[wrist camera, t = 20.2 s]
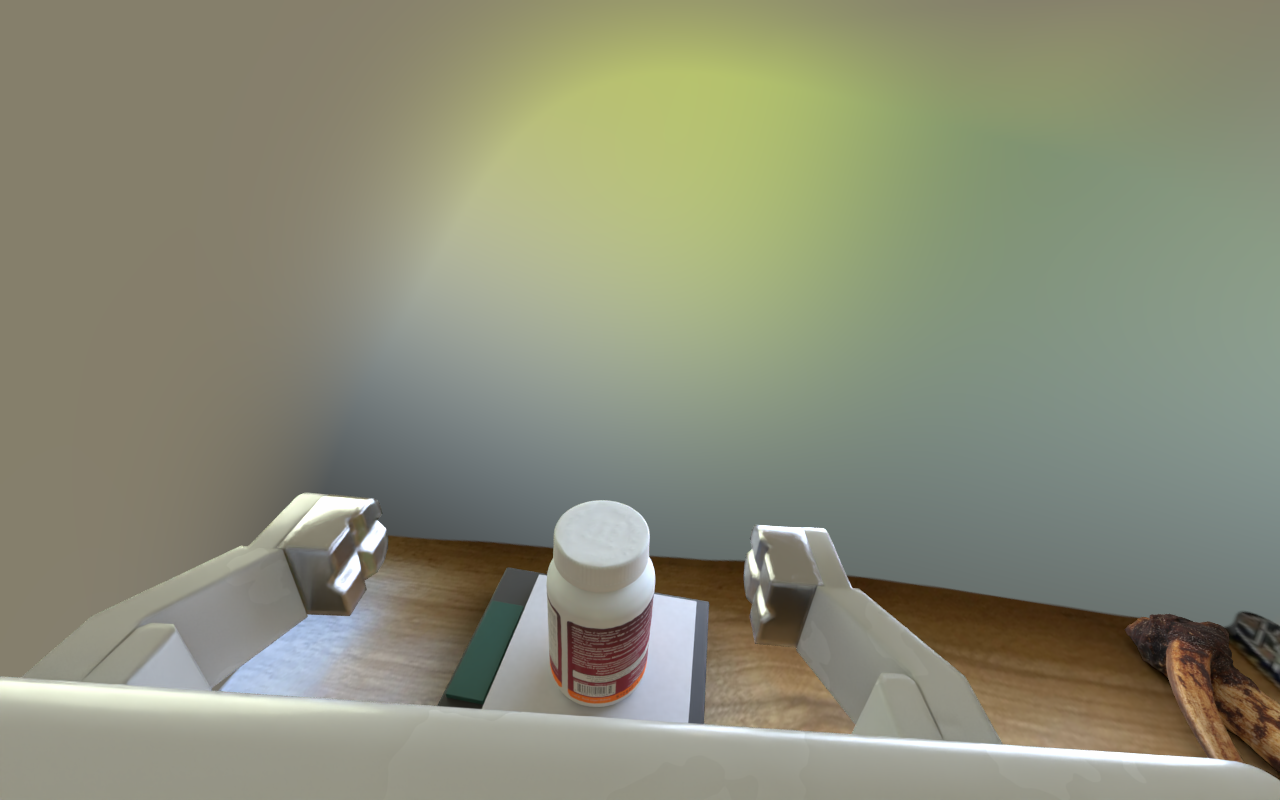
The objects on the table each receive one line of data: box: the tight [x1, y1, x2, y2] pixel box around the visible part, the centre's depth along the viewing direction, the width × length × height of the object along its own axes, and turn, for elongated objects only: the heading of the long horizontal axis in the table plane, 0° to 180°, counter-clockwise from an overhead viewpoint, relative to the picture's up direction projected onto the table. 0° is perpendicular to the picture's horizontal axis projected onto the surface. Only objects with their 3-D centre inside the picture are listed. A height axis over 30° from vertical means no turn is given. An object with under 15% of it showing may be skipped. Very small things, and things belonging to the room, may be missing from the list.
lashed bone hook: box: [1125, 614, 1280, 772], centre depth 32 cm, size 9×5×18 cm
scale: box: [437, 568, 709, 724], centre depth 33 cm, size 16×14×3 cm
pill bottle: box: [546, 500, 655, 707], centre depth 30 cm, size 6×6×11 cm
